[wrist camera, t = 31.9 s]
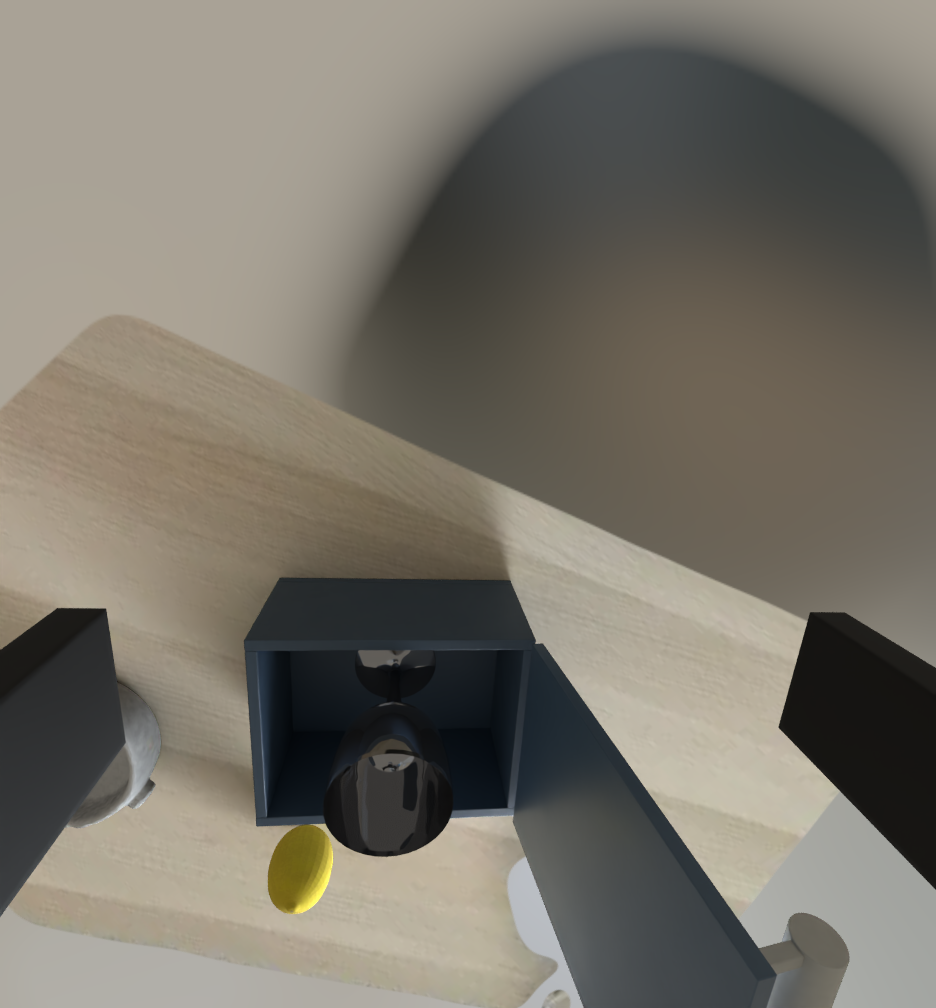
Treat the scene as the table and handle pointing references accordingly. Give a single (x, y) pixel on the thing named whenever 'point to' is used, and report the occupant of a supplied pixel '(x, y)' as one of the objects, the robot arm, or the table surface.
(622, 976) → the lid
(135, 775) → the dish
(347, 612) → the chest
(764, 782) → the table surface
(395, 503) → the table surface
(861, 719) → the robot arm
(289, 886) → the lemon
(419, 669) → the wine glass
